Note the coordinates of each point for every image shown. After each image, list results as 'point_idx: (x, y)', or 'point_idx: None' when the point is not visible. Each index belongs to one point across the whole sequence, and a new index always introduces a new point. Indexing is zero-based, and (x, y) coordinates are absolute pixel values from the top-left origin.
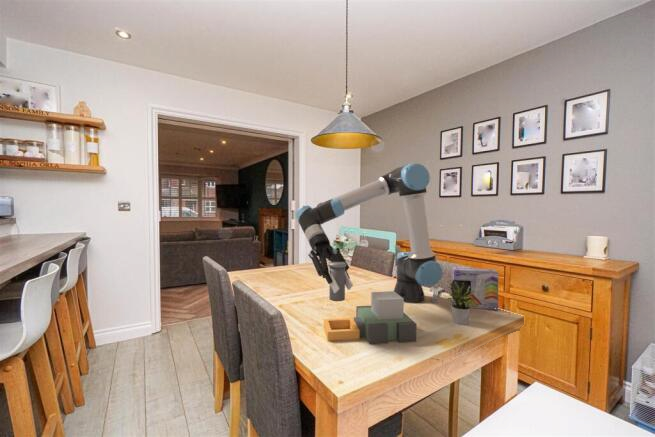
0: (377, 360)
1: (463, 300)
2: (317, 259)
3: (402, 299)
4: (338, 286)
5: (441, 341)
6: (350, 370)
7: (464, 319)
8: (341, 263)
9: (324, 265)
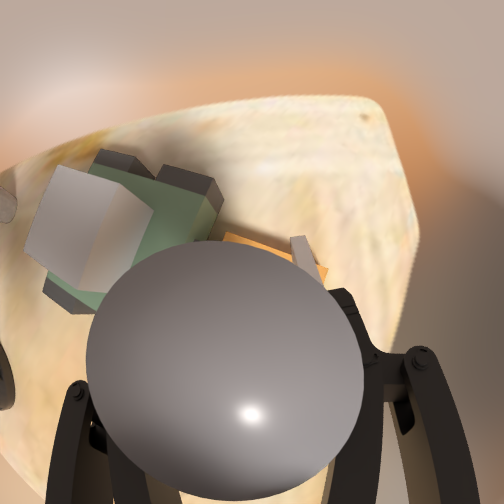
0: (258, 135)
1: None
2: (460, 500)
3: (61, 166)
4: (292, 246)
5: (88, 153)
6: (333, 132)
7: (8, 192)
8: (165, 331)
9: (381, 442)
